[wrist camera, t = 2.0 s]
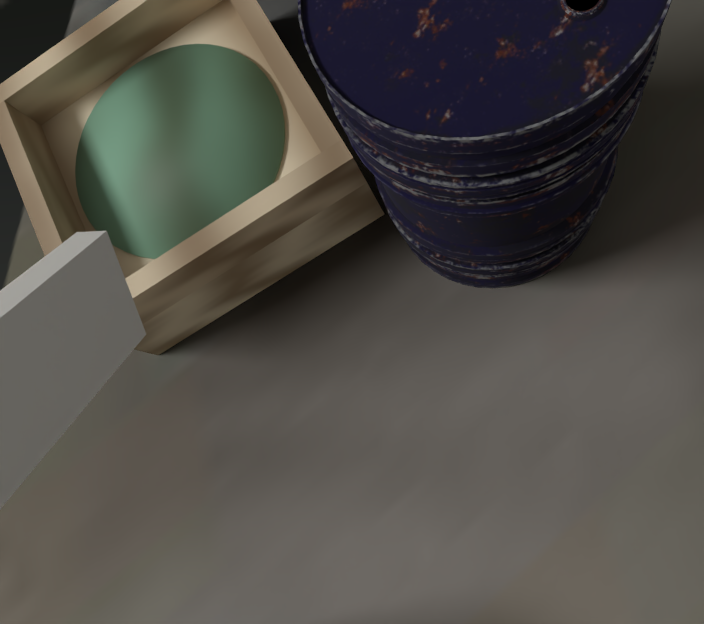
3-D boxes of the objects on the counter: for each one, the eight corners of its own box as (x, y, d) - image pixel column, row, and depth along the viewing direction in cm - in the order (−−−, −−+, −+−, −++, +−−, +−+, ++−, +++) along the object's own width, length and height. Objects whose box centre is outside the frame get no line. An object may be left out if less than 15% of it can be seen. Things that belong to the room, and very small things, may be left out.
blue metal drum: (358, 240, 31) (230, 72, 17) (446, 74, 32) (394, -221, 18) (545, 325, 28) (578, 205, 14) (638, 139, 29) (760, -156, 15)
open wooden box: (266, 22, 35) (214, -68, 29) (384, 214, 31) (353, 157, 25) (70, 155, 37) (-18, 97, 31) (157, 355, 33) (75, 334, 27)
